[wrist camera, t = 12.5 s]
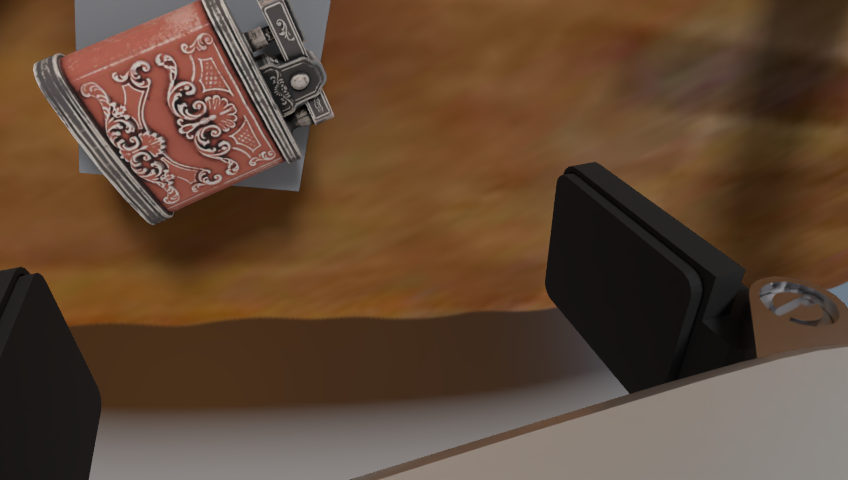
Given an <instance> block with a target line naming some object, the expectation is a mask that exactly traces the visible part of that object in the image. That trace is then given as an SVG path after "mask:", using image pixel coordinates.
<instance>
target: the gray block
mask: <svg viewBox="0 0 848 480" xmlns="http://www.w3.org/2000/svg"><path fill="white" fill-rule="evenodd" d="M195 1H198V0H75V29H76V51H78V50H81V49H83V48H85V47H88V46H90V45H92V44H95V43H97V42H100V41H102V40H104V39H107V38H109V37H112V36H114V35H116V34H119V33H121V32H124V31H126V30H128V29H131V28H133V27H136V26H138V25H140V24H143V23H145V22H148V21H150V20H152V19H155V18H157V17H160V16H162V15H164V14H167V13H169V12H171V11H174V10H176V9H179V8H181V7H183V6H186V5H188V4H191V3H193V2H195ZM225 1H226V3H227V5H228V7H229V9H230V10H231V12H232V14H233V16H234V18H235V20H236V22H237V24H238V26H239V28H240V30H241V32H244V33H245V32H248V31H250V30H252V29H255V28H257V27H259V26H260V28H264V27H266V26H268V24H267V22H266V19H265V17H264V15H263V13H262V11H261V9H260V7H259V5H258V2H257V0H225ZM330 1H331V0H290V2H291V5H292V7H293V9H294V12H295V14H296V16H297V19H298V21H299V23H300V26H301V28H302V30H303V32H304V35H305V37H306V39H307V41H305V42H303V46H304V48H305V49H306V50H310V51H312V52H313V53H314V54H316V56H317V58H318V59H319V61H321V55H322V49H323V43H324V37H325V31H326V25H327V19H328V13H329V7H330ZM268 44H269V46H267V47H264V48H262V49H260V50H257V51H255V52H254V53H253V55H254V57H255V56H258V55H260V54H262V53H268V54H270V55H275V54H278V53H281V51H280V49H279V47H278V45H277V43H276V41H275V40H274V41H272V42H269V43H268ZM304 104H305V102H302V103H301V104H299V105H297V106H296V108H298V107H299V106H301V105H304ZM296 108H295V109H296ZM309 128H310V126H307V127H298V128H296V129H294V130H293V132H292V133H293V135H294V137H295V139H296V141H297V143H298V145H299V148H300V150H301V152H302V155H303V158H301V159H299V160H296V161H294V162H292V163H290V164H288V162H287V161H285V162H282V163H280V164H278V165H276V166H274V167H271V168H269V169H267V170H265V171H263V172H260V173H258V174H256V175H254V176H251V177H249V178H247V179H245V180H243V181H240V182H238V183H236V184H234V185H232V186H243V187H254V188H266V189H278V190H289V191H299V188H300V182H301V176H302V170H303V164H304V158H305V152H306V146H307V140H308V134H309ZM79 171H80V173H92V174H103V173H102V172H101V171H100V170H99V169H98V167H97V166H96V165H95V163H94V162H93V161H92V160H91V158H90V157H89V156H88V154H87V153H86V152H85V151H84V149H83V148H82V147H81V145H80V144H79Z"/></svg>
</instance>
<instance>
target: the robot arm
mask: <svg viewBox="0 0 848 480" xmlns="http://www.w3.org/2000/svg"><path fill="white" fill-rule="evenodd" d="M745 270H746V269H744V268H743V267H741V266H740V265H739V264H737V263H736V262H735V261H733V260H732V259H730V258H729V257H728V256H726V255H725V254H723V253H722V252H721V251H719V250H718V249H716V248H715V247H714V246H712V245H711V244H710V243H708V242H707V241H705V240H704V239H703V238H701V237H700V236H698V235H697V234H696V233H694V232H693V231H691V230H690V229H689V228H687V227H686V226H685V225H683V224H682V223H680V222H679V221H678V220H676V219H675V218H673V217H672V216H671V215H669V214H668V213H667V212H665V211H664V210H662V209H661V208H660V207H658V206H657V205H655V204H654V203H653V202H651V201H650V200H648V199H647V198H646V197H644V196H643V195H642V194H640V193H639V192H637V191H636V190H635V189H633V188H632V187H630V186H629V185H628V184H626V183H625V182H623V181H622V180H621V179H619V178H618V177H617V176H615V175H614V174H612V173H611V172H610V171H608V170H607V169H605V168H604V167H603V166H601V165H600V164H598V163H596V162H593V163H587V164H581V165H576V166H570V167H568V168H567V169H566V170H565V172H564V174H563V175H561V176H560V177H559V178H558V180H557V185H556V194H555V202H554V211H553V219H552V228H551V236H550V245H549V253H548V262H547V270H546V279H545V286H546V290H547V293H548V295H549V297H550V299H551V300H552V301H553V302H554V303H555V305H556V306H557V307H558V308H559V309H560V311H561V312H562V313H563V314H564V316H565V317H566V318H567V319H568V320H569V321H570V323H571V324H572V325H573V326H574V327H575V329H576V330H577V331H578V332H579V334H580V335H581V336H582V337H583V338H584V339H585V341H586V342H587V343H588V344H589V346H590V347H591V348H592V349H593V350H594V351H595V353H596V354H597V355H598V356H599V358H600V359H601V360H602V361H603V362H604V364H605V365H606V366H607V367H608V368H609V370H610V371H611V372H612V373H613V374H614V376H615V377H616V378H617V379H618V380H619V382H620V383H621V384H622V385H623V386H624V388H625V389H626V390H627V391H628V392H629V394H628V395H625V396H622V397H619V398H615V399H612V400H609V401H606V402H602V403H599V404H595V405H592V406H589V407H586V408H582V409H579V410H575V411H572V412H569V413H565V414H563V415H559V416H556V417H552V418H549V419H546V420H542V421H539V422H536V423H533V424H529V425H526V426H523V427H520V428H516V429H513V430H510V431H506V432H503V433H500V434H497V435H493V436H490V437H487V438H484V439H480V440H477V441H474V442H470V443H467V444H464V445H461V446H457V447H454V448H451V449H448V450H444V451H441V452H438V453H435V454H431V455H428V456H425V457H422V458H419V459H415V460H412V461H409V462H406V463H402V464H399V465H396V466H393V467H390V468H386V469H383V470H380V471H377V472H373V473H370V474H367V475H364V476H360V477H357V478H354V479H350V480H848V308H847V306H846V305H845V304H844V303H843V302H842V301H841V300H840V299H839V298H838V297H837V296H835V295H834V294H832V293H831V292H829V291H827V290H826V289H824V288H822V287H820V286H817V285H815V284H812V283H810V282H807V281H803V280H800V279H796V278H791V277H781V276H774V277H765V278H762V279H759V280H756V281H755V282H754V283H753V284H752V285H751V286H750V288H747V287H746V286H745V285H743V284H742V283H741V281H742V278H743V275H744V273H745ZM100 413H101V397H100V393H99V389H98V387H97V385H96V383H95V381H94V379H93V376H92V374H91V373H90V370H89V369H88V366H87V364H86V362H85V360H84V358H83V356H82V354H81V352H80V350H79V348H78V346H77V344H76V342H75V340H74V338H73V336H72V334H71V332H70V330H69V328H68V326H67V324H66V322H65V319H64V317H63V315H62V313H61V311H60V309H59V307H58V305H57V303H56V301H55V299H54V297H53V295H52V293H51V291H50V289H49V287H48V285H47V283H46V281H45V279H44V278H43V276H42V275H41V274H39V273H35V274H30V273H29V272H28V271H27V270H26V269H25V268H22V267H18V268H13V269H7V270H2V271H0V480H89V474H90V469H91V463H92V457H93V452H94V446H95V440H96V435H97V430H98V424H99V418H100Z"/></svg>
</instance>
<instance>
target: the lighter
mask: <svg viewBox="0 0 848 480" xmlns="http://www.w3.org/2000/svg"><path fill="white" fill-rule="evenodd" d="M257 2H258V5H259V7H260V9H261V11H262V13H263V15H264V17H265V19H266V22H267V24H268V26H266V27H264V28H260V26H259V27H257V28H255V29H252V30H250V31H248V32H245V33H244V32H241V30H240V28H239V26H238V24H237V22H236V20H235V18H234V16H233V14H232V12H231V10H230V9H229V7H228V5H227V3H226V1H225V0H198V1H195V2H193V3H191V4H188V5H186V6H183V7H181V8H179V9H176V10H174V11H171V12H169V13H167V14H164V15H162V16H160V17H157V18H155V19H152V20H150V21H148V22H145V23H143V24H140V25H138V26H136V27H133V28H131V29H128V30H126V31H124V32H121V33H119V34H116V35H114V36H112V37H109V38H107V39H104V40H102V41H100V42H97V43H95V44H92V45H90V46H88V47H85V48H83V49H81V50H78V51H76V52H73V53H71V54H69V55H66V56H65V55H64V54H60V53H58V54H55V55H53V56H50V57H48V58H46V59H43V60H41V61H38V62H37V63H35V64H34V68H33V71H34V75H35V79H36V81H37V83H38V86H39V88H40V90H41V91H42V93H43V94H44V96H45V98H46V99H47V100H48V102H49V103H50V105H51V106H52V107H53V109H54V110H55V112H56V113H57V114H58V116H59V117H60V118H61V120H62V121H63V123H64V124H65V125H66V127H67V128H68V130H69V131H70V132H71V134H72V135H73V136H74V138H75V139H76V140H77V142H78V143H79V144H80V145H81V147H82V148H83V149H84V151H85V152H86V153H87V154H88V156H89V157H90V158H91V160H92V161H93V162H94V163H95V165H96V166H97V167H98V169H99V170H100V171H101V172H102V173H103V174H104V176H105V177H106V178H107V179H108V180H109V181H110V182H111V184H112V185H113V186H114V187H115V188H116V189H117V191H118V192H119V193H120V194H121V195H122V196H123V198H124V199H125V200H126V201H127V202H128V203H129V204H130V205H131V206H132V207H133V208H134V209H135V210H136V211H137V212H138V213H139V214H140V215H141V216H142V217H143V219H144V220H146V221H147V222H148V223H149V224H152V225H155V224H157V223H159V222H162V221H164V220H166V219H168V218H171V217H172V216H174V211H176V210H179V209H181V208H183V207H185V206H187V205H190V204H192V203H194V202H196V201H198V200H201V199H203V198H205V197H207V196H209V195H212V194H214V193H216V192H218V191H221V190H223V189H225V188H227V187H229V186H232V185H234V184H236V183H238V182H240V181H243V180H245V179H247V178H249V177H251V176H254V175H256V174H258V173H260V172H263V171H265V170H267V169H269V168H271V167H274V166H276V165H278V164H280V163H282V162H285V161H287V162H288V164H290V163H292V162H294V161H296V160H299V159H301V158H303V155H302V152H301V150H300V148H299V145H298V143H297V141H296V139H295V137H294V135H293V133H292V132H293V130H294V129H296V128H298V127H307V126H310V125H312V124H314V123H315V125H317V124H320V123H322V122H324V121H326V120H328V119H331V118H333V117H334V114H333V112H332V109H331V107H330V105H329V102H328V100H327V98H326V96H325V93H324V91H323V89H322V87H323V86H324V84H325V82H326V78H327V75H326V72H325V70H324V68H323V65H322V64H321V62H320V61H319V59H318V58H317V56H316V54H314V53H313V52H312V51H310V50H306V49H305V48H304V46H303V42H305V41H307V39H306V37H305V35H304V32H303V30H302V28H301V26H300V23H299V21H298V19H297V16H296V14H295V12H294V9H293V7H292V5H291V2H290V0H257ZM274 40H275V41H276V43H277V45H278V47H279V49H280V51H281V53H278V54H275V55H270V54H268V53H262V54H260V55H258V56H255V57H254V55H253V53H254V52H255V51H257V50H260V49H262V48H264V47H267V46H269V44H268V43H269V42H272V41H274ZM302 102H305V104H304V105H301V106H299V107H298V108H296V106H297V105H299V104H301V103H302ZM295 108H296V109H295Z"/></svg>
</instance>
